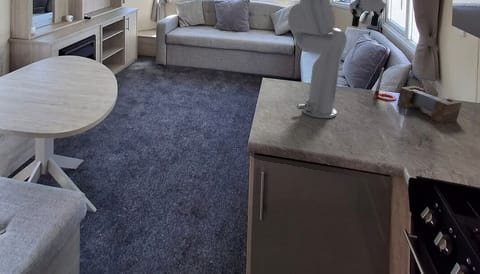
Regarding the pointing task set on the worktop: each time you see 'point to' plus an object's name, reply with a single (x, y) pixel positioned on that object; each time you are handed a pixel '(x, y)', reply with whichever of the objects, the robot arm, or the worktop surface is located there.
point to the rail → (424, 100)
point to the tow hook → (378, 95)
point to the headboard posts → (441, 111)
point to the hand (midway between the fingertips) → (364, 26)
